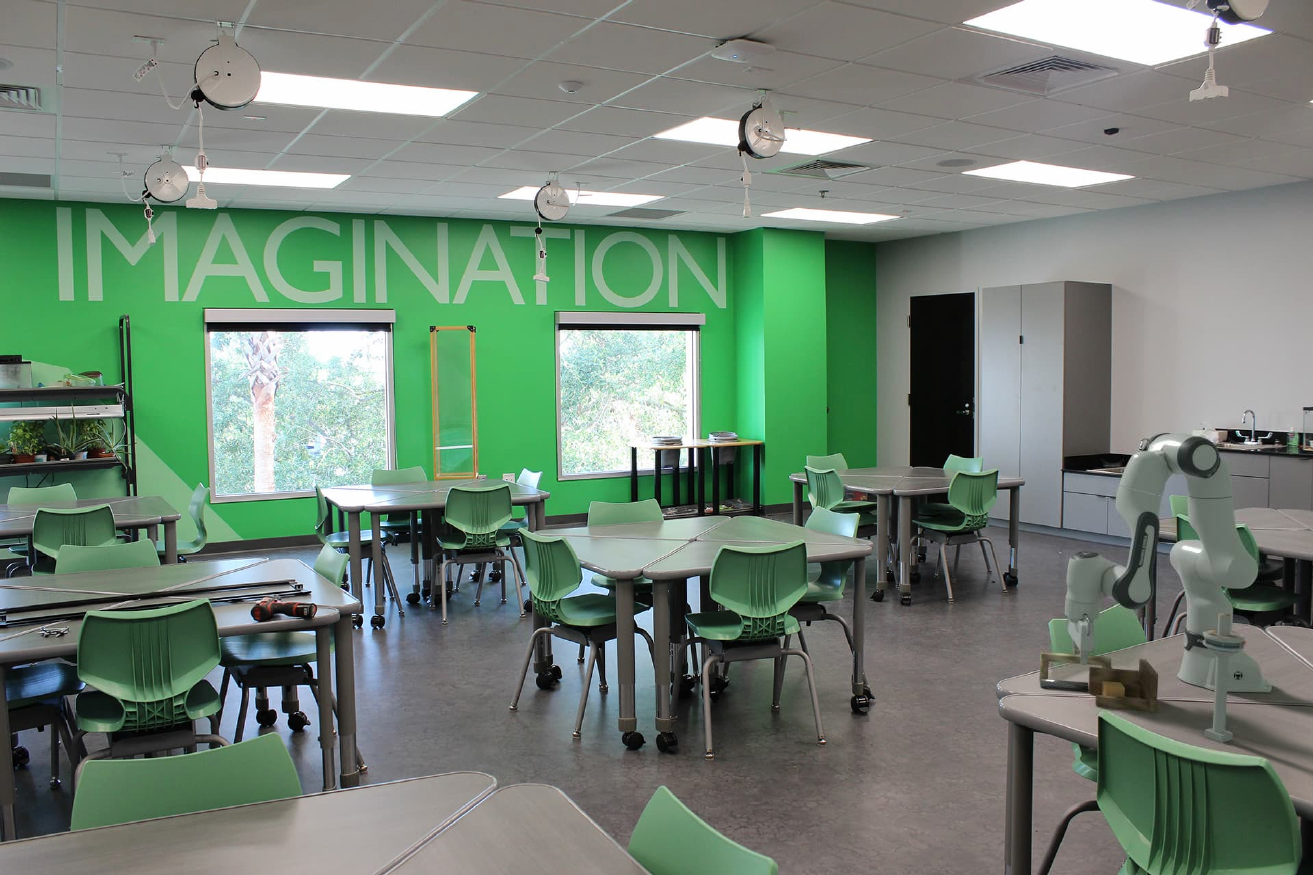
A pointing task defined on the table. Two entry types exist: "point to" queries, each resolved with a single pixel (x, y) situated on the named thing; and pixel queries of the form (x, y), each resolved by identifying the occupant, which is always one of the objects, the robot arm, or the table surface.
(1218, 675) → the model tower
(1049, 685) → the dark metal rod
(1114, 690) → the orange cube
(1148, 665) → the walnut cubby
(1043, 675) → the beech crook
